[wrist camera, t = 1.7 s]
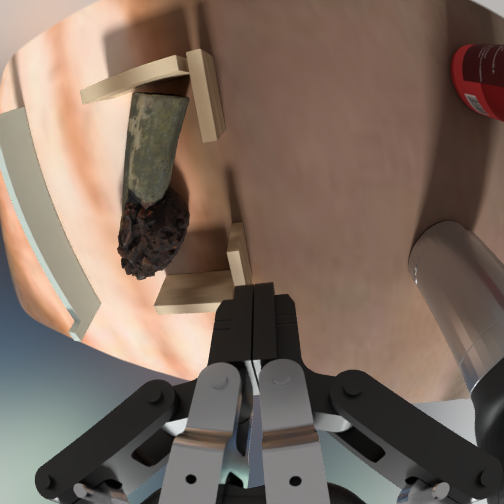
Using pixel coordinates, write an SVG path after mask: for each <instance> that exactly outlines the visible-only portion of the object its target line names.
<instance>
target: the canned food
mask: <svg viewBox="0 0 504 504" xmlns="http://www.w3.org/2000/svg"><path fill="white" fill-rule="evenodd" d="M451 77H452V81H453V84H454V87H455V89H456V92H457V93H458V95H459V97H460V98H461V99H462V101H463V102H464V103H465V104H466V105H467V106H468V107H470V108H471V109H472V110H474V111H475V112H477V113H480V114H482V115H485V116H488V117H491V118H494V119H497V120H500V121H502V122H504V45H490V44H472V45H465V46H462V47H461V48H459V49H458V50H457V51H456V52H455V53H454V55H453V57H452V60H451Z"/></svg>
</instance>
